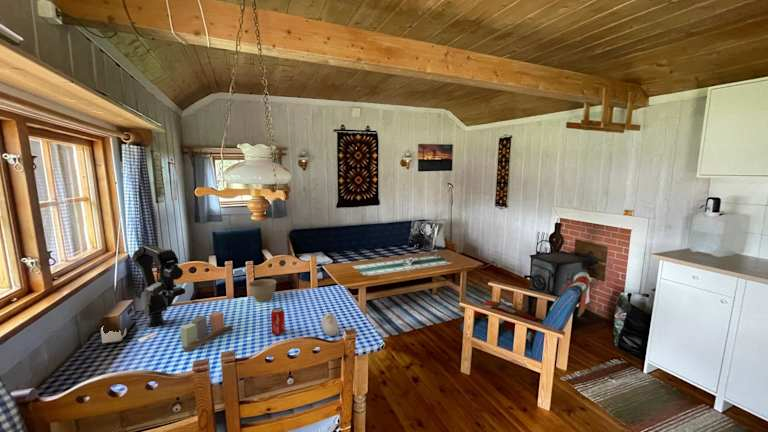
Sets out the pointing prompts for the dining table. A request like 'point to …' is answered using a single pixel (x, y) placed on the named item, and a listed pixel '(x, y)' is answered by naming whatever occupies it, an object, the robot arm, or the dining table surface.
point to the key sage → (188, 334)
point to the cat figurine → (329, 324)
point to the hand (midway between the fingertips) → (168, 306)
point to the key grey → (200, 326)
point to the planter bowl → (262, 289)
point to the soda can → (277, 321)
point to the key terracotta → (216, 322)
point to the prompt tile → (146, 337)
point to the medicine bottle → (112, 336)
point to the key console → (207, 338)
